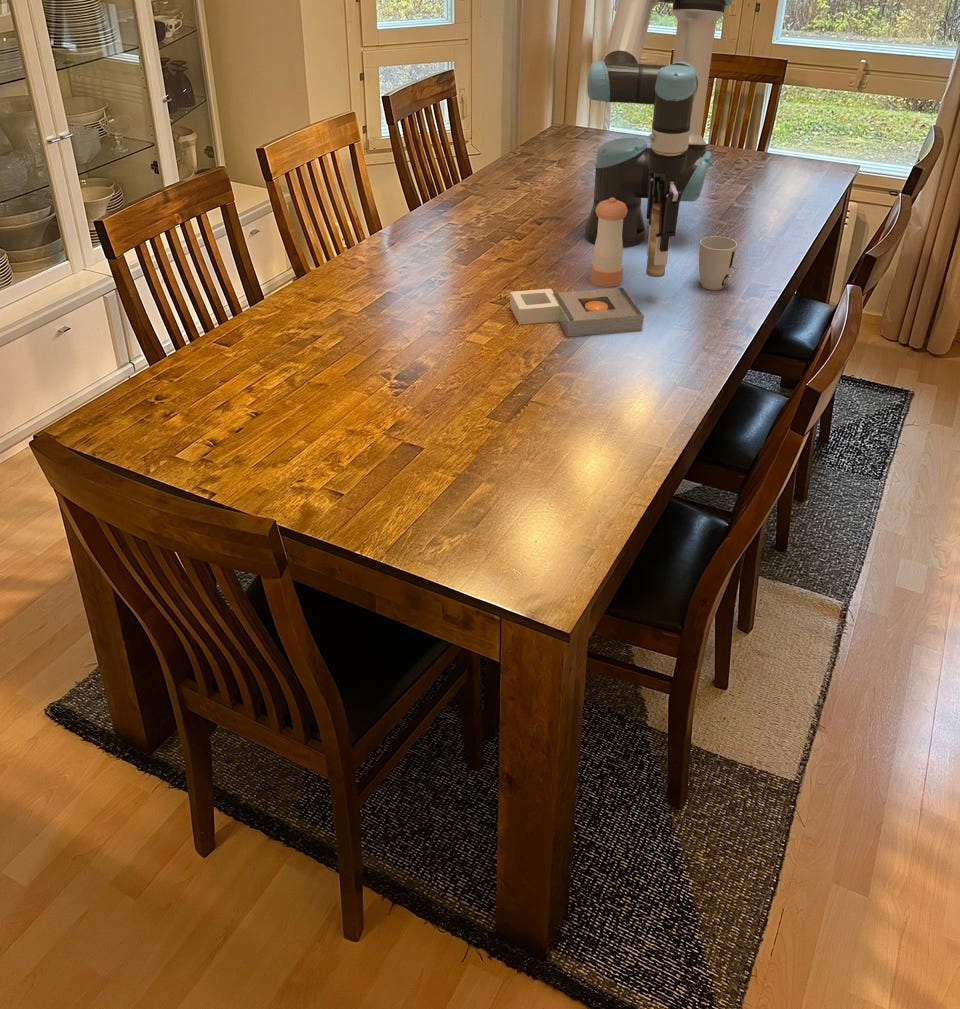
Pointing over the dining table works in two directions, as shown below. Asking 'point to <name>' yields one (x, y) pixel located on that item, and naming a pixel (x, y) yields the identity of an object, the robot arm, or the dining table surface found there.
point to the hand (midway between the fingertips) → (656, 259)
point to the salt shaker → (608, 244)
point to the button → (595, 306)
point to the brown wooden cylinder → (654, 245)
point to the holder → (534, 306)
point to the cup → (716, 261)
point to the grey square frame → (598, 312)
